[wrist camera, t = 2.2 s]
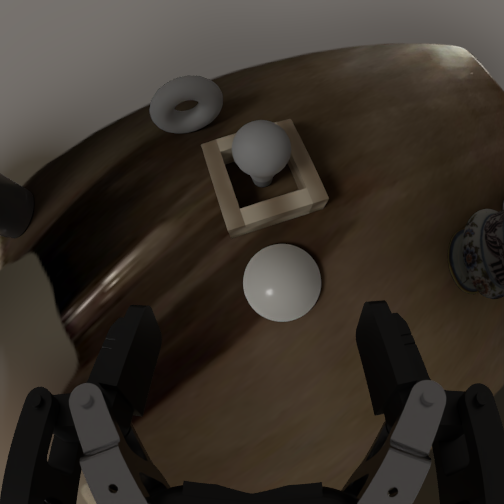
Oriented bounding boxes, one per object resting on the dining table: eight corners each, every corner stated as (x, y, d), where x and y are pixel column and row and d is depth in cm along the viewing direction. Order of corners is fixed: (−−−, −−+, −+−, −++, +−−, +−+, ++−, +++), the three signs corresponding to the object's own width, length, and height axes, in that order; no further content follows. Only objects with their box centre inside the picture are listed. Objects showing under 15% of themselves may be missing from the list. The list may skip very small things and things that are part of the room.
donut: (224, 108, 38) (214, 61, 28) (230, 125, 37) (220, 77, 28) (161, 129, 38) (137, 87, 28) (164, 146, 37) (139, 104, 28)
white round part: (257, 331, 32) (257, 332, 31) (233, 259, 34) (233, 258, 33) (330, 306, 32) (331, 305, 31) (304, 235, 34) (305, 233, 33)
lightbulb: (279, 208, 35) (284, 166, 24) (232, 195, 35) (219, 150, 24) (291, 167, 36) (299, 116, 25) (247, 156, 36) (240, 103, 25)
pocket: (231, 238, 34) (227, 230, 31) (206, 157, 37) (200, 144, 33) (323, 208, 34) (328, 198, 31) (288, 133, 37) (290, 118, 33)
